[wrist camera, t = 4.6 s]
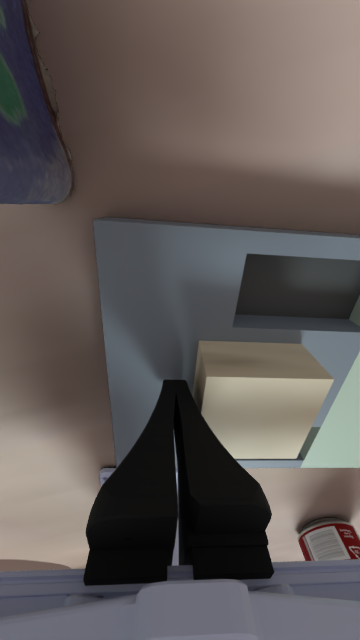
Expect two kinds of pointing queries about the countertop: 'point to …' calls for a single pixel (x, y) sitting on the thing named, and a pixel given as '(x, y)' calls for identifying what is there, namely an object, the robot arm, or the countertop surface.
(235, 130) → the countertop surface
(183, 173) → the countertop surface
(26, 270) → the countertop surface
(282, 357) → the birch block
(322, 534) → the soda can
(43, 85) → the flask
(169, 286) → the trap deck
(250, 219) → the countertop surface
